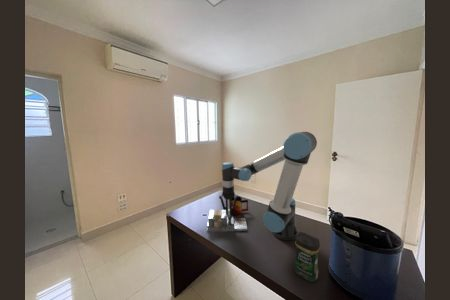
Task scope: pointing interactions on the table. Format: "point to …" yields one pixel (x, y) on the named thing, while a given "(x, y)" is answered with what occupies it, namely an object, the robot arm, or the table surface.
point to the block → (217, 218)
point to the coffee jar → (307, 256)
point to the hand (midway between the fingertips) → (229, 218)
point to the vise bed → (238, 226)
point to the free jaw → (226, 220)
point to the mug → (238, 206)
